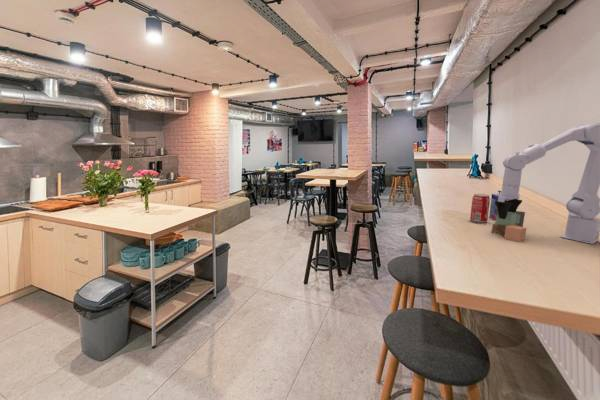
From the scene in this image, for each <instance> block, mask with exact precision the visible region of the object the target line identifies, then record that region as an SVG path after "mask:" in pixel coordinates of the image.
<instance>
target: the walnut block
mask: <svg viewBox="0 0 600 400" xmlns="http://www.w3.org/2000/svg"><path fill="white" fill-rule="evenodd" d="M515 225H516V226H517V225H518V224H515ZM505 229H506V226H505V225H500V224H496V222H494V223H492V227H491V233H492V234H498V235H502V236H505Z"/></svg>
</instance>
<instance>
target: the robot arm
mask: <svg viewBox="0 0 600 400" xmlns="http://www.w3.org/2000/svg"><path fill="white" fill-rule="evenodd" d="M575 141H576V142H578V143H580V144H582V145H583V146H585V147H586V148H587V149H588V150H590V152H589V154H588V157H587V161H586V163H585V167H584V170H583V173H582V176H581V179H580V183H579V185H578V187H577V188H578V189H577V191H575V192H574V193H573V194H572V195H571V198H570V199H569V200H568V201H567V202H566V205H565V207H566V210H567V211H568V215H567V221H566V226H565V231H564V234H562V235H560V238H563V239H567V240H571V241H572V240H573V241H577V242H582V243H585V244H586V243H587V244H592V245H593V244H595V243H597V242H598V241H599V238H600V219H596V217H597V216H599V215H600V197H599V195H598V192H599V189H600V122H595V123H590V124H580V125H577V126H574V127H572V128H569V129H568V130H566V131H564V132H562V133H560V134H558V135H556V136H555V137H552V138H551V139H549V140H547V141H545V142H544V143H542V144H539V143H535V144H534V143H531V144H528V145H527V147H526V148H524V149H522V150H520V151H519V150H518V151H516V152H515V154H510V155H507V156H506V157H505V159H504V160H503V161H502V164H503V167H504V172H503V177H502V178H503V179H502V186H501V191H502V192H500V193H501V194H499V193H497V194H498V196H500V197H498V200H496V201H495V204H496V206H497V209H498V216H499V218H501V219H505V218H506V216H507V212H514V213H515V212H516V211H518V208H519V206H520V205H521V204H522V202H523V200H522V199H520V197H521V196H520V194H519V193H520V188H521V187H520V186H521V180H522V172H523V169H524V168H525V167H526V166H527V165H528V164H530V163H533V162H535V161H536V160H540V159H542V158H544V157H545V155H546V154H547V152H548V151H551V150H553V149H555V148H558V147H559V146H562V145H565V144H567V143H569V142H575Z"/></svg>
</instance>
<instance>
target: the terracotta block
mask: <svg viewBox="0 0 600 400" xmlns="http://www.w3.org/2000/svg"><path fill="white" fill-rule="evenodd" d="M526 233H527V227H526V226H523V227H521V226H516V225H509V226H506V229H505V235H503V236H504V240H505V239H506V240H508V241H513V242H517V243H520V242H522V241H525V239H526Z"/></svg>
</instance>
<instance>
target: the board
mask: <svg viewBox="0 0 600 400" xmlns="http://www.w3.org/2000/svg"><path fill="white" fill-rule="evenodd" d="M515 213H517V216H516V222H515V224H518V225H517V226H521V227H524V221H525V216H526V215H525V214H526V211H519V210H516V212H515Z"/></svg>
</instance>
